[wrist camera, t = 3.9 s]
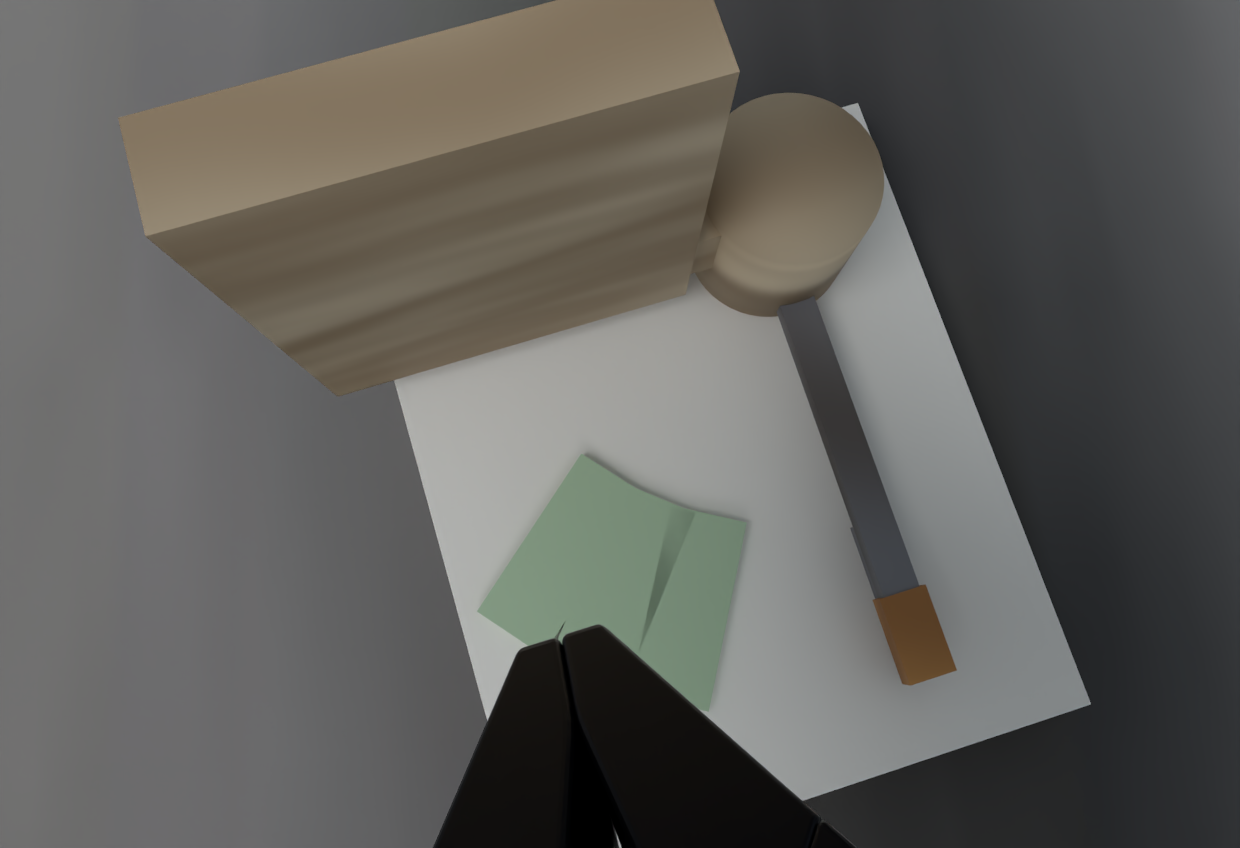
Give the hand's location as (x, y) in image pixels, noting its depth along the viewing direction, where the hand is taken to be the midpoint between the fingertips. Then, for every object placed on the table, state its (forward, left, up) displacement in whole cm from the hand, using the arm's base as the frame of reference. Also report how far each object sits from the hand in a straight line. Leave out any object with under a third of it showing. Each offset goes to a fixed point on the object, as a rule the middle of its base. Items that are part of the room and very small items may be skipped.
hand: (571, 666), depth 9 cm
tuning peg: (+2, -3, -9) cm, 10 cm away
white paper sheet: (+1, -4, -11) cm, 12 cm away
